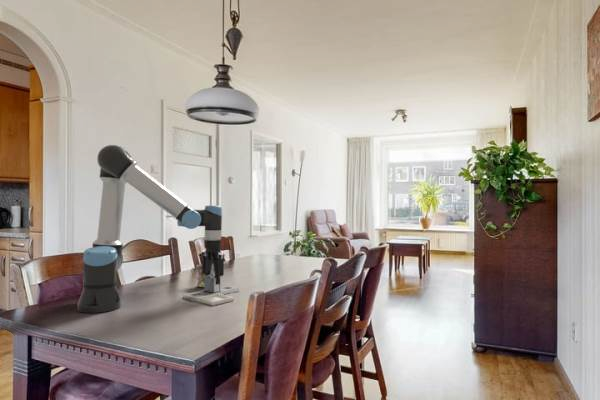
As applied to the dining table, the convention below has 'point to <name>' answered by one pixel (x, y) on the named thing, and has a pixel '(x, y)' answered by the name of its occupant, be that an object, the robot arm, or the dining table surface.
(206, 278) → the dark grey block
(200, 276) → the mug
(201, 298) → the tray
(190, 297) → the rail
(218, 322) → the dining table surface
